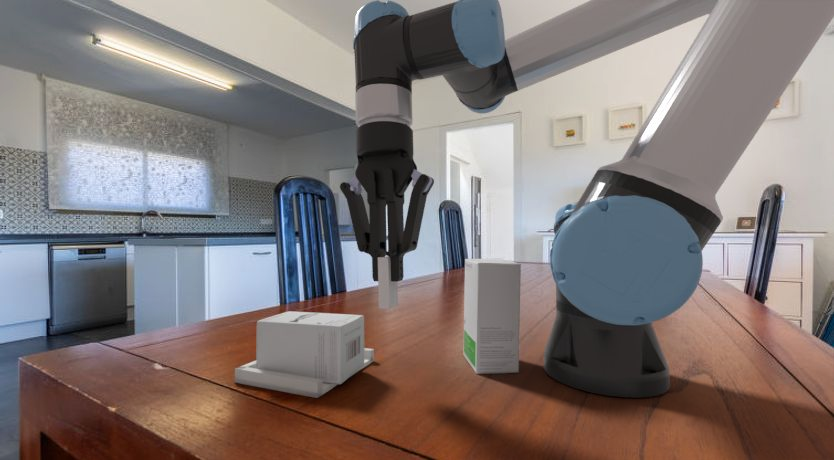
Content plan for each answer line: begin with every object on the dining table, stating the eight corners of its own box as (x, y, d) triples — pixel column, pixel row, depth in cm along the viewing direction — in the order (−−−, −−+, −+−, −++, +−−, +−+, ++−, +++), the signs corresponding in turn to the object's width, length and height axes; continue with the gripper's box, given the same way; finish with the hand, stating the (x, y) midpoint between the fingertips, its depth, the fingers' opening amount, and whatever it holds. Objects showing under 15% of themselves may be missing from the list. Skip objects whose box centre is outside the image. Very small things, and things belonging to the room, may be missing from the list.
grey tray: (374, 360, 55) (374, 349, 55) (317, 398, 42) (317, 382, 42) (304, 351, 60) (304, 340, 60) (234, 382, 47) (234, 368, 47)
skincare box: (462, 356, 58) (462, 258, 58) (503, 354, 58) (502, 258, 59) (476, 375, 49) (475, 261, 50) (523, 373, 50) (522, 261, 50)
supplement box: (341, 325, 44) (254, 320, 48) (341, 386, 44) (254, 377, 48) (365, 313, 52) (288, 309, 55) (365, 365, 51) (288, 358, 55)
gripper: (439, 129, 49) (445, 303, 48) (356, 141, 54) (359, 300, 53) (420, 110, 42) (425, 314, 41) (326, 126, 47) (329, 309, 46)
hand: (388, 306), depth 47 cm, fingers closed
